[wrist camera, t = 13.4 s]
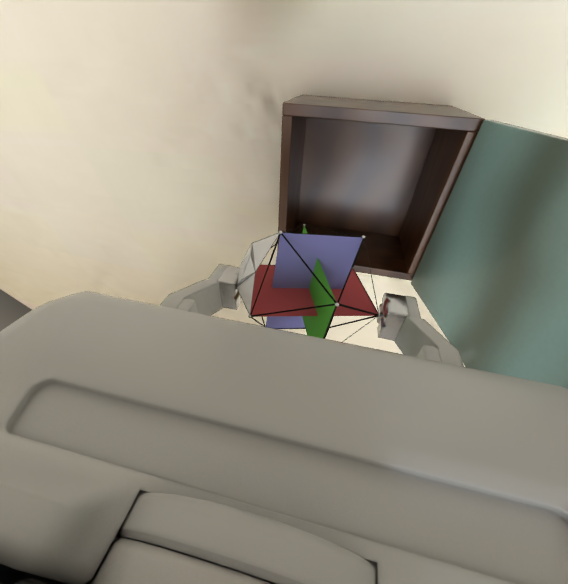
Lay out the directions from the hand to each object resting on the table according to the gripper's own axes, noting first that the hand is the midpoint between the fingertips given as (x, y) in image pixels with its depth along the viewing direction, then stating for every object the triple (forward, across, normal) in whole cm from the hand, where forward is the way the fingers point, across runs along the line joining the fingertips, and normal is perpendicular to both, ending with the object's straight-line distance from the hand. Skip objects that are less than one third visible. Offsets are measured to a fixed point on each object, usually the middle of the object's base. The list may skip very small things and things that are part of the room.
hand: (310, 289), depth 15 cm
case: (+21, -2, 0) cm, 21 cm away
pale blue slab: (+5, -11, 0) cm, 12 cm away
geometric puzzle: (+3, 0, 0) cm, 3 cm away
